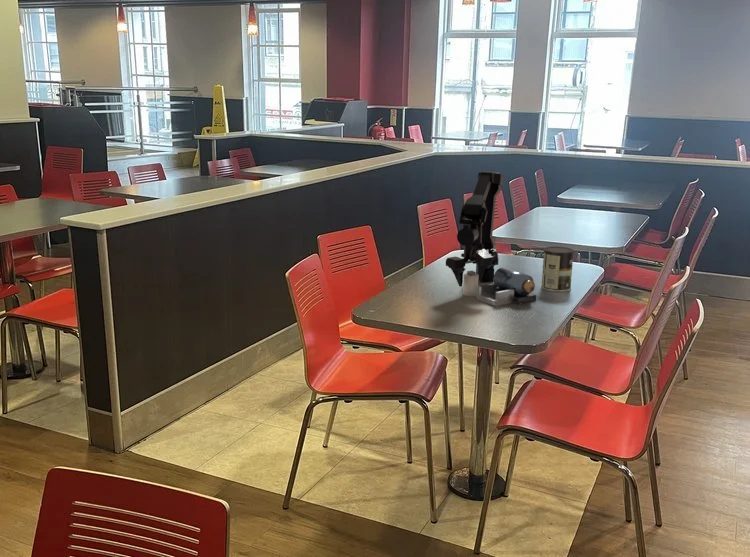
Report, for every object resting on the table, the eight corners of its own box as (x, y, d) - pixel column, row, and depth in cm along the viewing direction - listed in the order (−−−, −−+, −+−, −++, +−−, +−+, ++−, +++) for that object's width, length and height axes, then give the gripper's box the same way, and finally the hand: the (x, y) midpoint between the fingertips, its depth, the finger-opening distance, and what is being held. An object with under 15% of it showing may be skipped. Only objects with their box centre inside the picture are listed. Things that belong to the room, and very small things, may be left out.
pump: (460, 293, 239) (460, 270, 237) (471, 291, 242) (472, 268, 240) (469, 297, 235) (470, 274, 233) (480, 295, 238) (481, 272, 235)
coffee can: (569, 285, 250) (572, 247, 247) (571, 293, 241) (575, 253, 237) (540, 283, 252) (543, 245, 249) (541, 291, 243) (544, 251, 239)
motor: (471, 297, 235) (472, 271, 232) (506, 290, 243) (508, 265, 241) (502, 308, 223) (503, 281, 220) (538, 301, 231) (539, 275, 229)
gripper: (467, 247, 222) (465, 294, 226) (510, 241, 232) (507, 286, 236) (445, 241, 231) (443, 286, 235) (487, 235, 241) (485, 278, 245)
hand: (470, 284), depth 237 cm, fingers open, 9 cm apart
